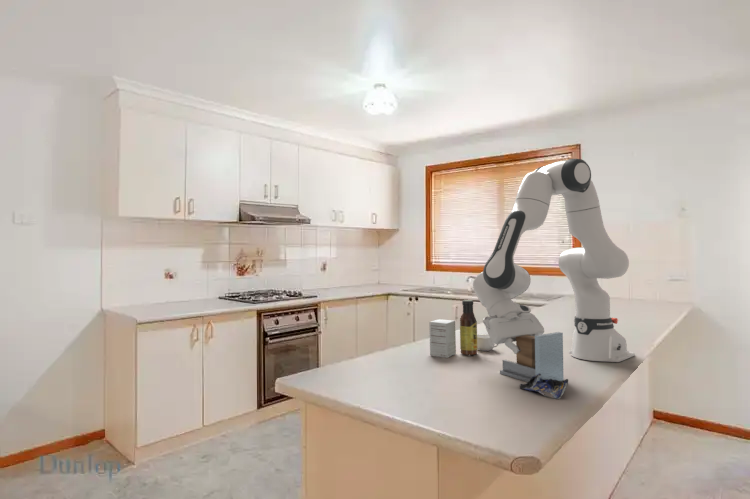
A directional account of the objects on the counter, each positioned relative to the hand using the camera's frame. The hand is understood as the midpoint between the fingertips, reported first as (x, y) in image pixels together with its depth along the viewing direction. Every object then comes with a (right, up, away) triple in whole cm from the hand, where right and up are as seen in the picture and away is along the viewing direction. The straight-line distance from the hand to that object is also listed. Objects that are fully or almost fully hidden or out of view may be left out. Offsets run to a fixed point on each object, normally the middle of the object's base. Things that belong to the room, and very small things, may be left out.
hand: (529, 350), depth 138 cm
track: (0, -8, 0) cm, 8 cm away
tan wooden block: (0, -7, 0) cm, 7 cm away
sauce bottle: (-12, -8, +32) cm, 35 cm away
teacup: (-4, -8, +37) cm, 38 cm away
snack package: (-1, -8, -15) cm, 17 cm away
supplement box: (-22, -9, +31) cm, 39 cm away
